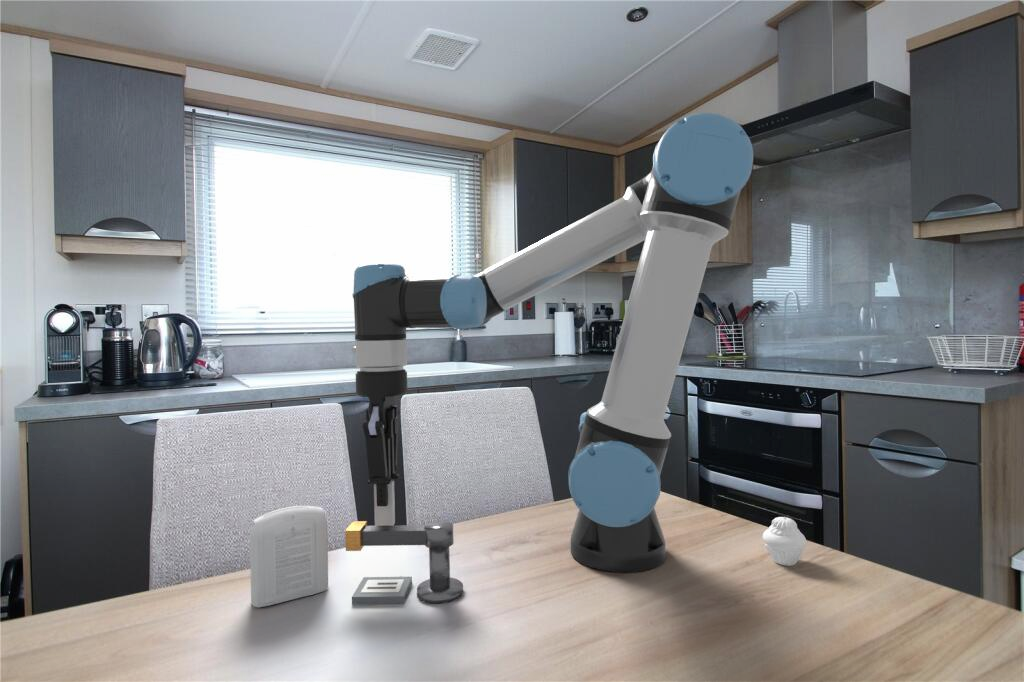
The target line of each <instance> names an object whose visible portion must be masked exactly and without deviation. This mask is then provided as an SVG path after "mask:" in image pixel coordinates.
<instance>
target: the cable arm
mask: <svg viewBox="0 0 1024 682" xmlns="http://www.w3.org/2000/svg"><path fill="white" fill-rule="evenodd" d="M344 534H345V551H346V552H361V551H362V550H363V548H364V547H371V546H372V547H377V546H381V547H382V546H383V547H384V546H386V547H387V546H388V547H389V546H425V547H426V548H428V549H429V548H431V549H442V548H447V547H449V548H450V547H452V546H453V545H454V543H455V542H454V541H455V540H454V538H455V537H454V524H453V523H452V522H449V521H445V520H439V521H437V520H436V521H432V522H429V523H426V524H417V525H416V524H413V525H412V524H409V525H408V524H406V525H405V524H403V525H398V524H397V525H395V524H394V525H391V526H375V525H368V520H365V521H364V520H363V521H361V520H360V521H359V520H358V521H352V522H351V523H350V524H349V526H348V527H347V528H346V529H345V532H344Z"/></svg>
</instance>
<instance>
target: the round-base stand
mask: <svg viewBox="0 0 1024 682" xmlns="http://www.w3.org/2000/svg"><path fill="white" fill-rule="evenodd" d="M450 554H451V553H450V547H447V548H442V549H431V548H428V557H429V558H428V559H429V564H428V565H429V566H428V567H429V578H428V579H426V580H423V581H421V582H420V583H419V584H418V585H417V587H416V596H417V599H419V601H421V602H423V603H426V604H432V605H442V604H443V605H444V604H448V603H451V602H454V601H456V600H458V599H459V598H461V597H462V596H463V595H464V583H463V582H462V581H461V580H460V579H458V578H455V577H451V568H450V567H451V566H450V564H451V563H450V562H451V561H450Z"/></svg>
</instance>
